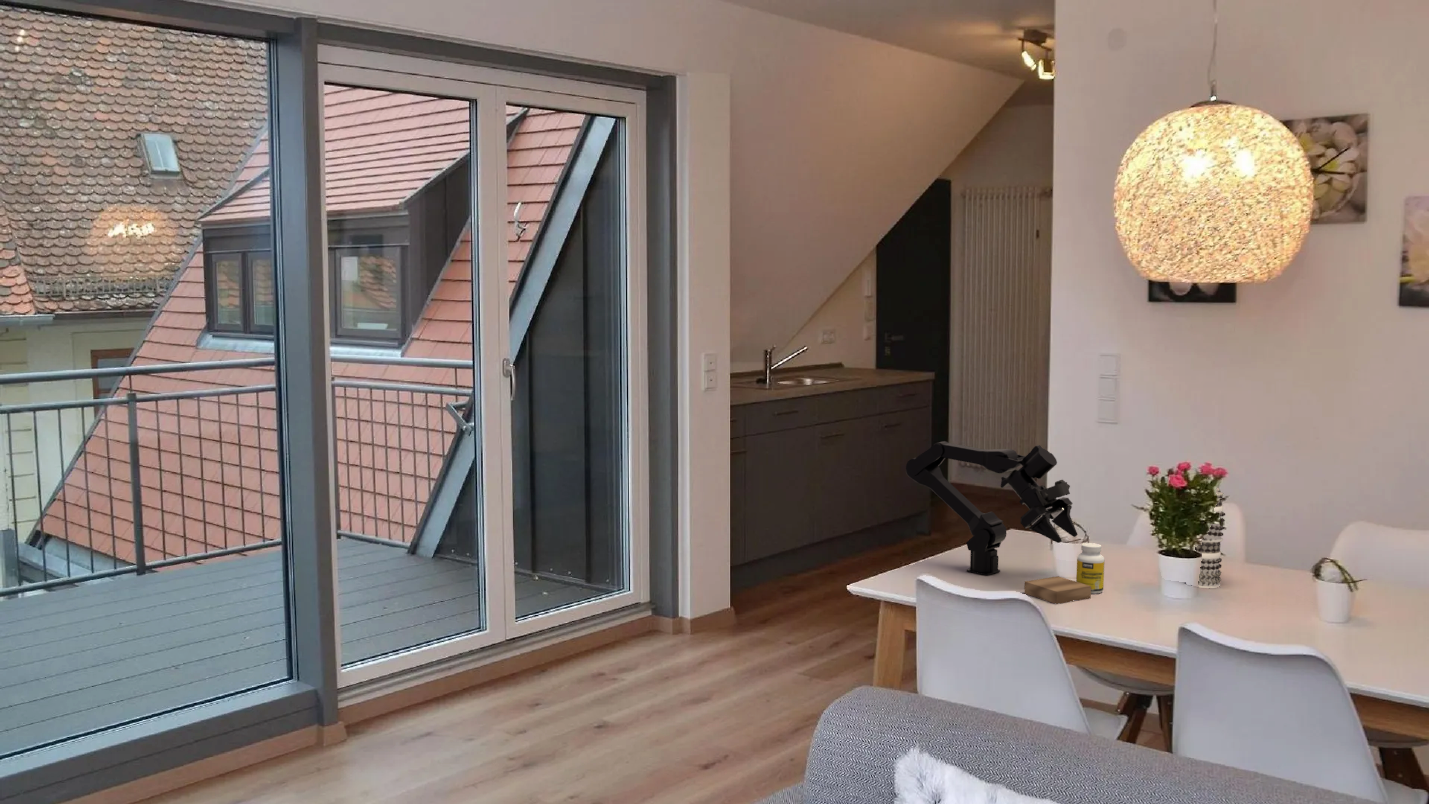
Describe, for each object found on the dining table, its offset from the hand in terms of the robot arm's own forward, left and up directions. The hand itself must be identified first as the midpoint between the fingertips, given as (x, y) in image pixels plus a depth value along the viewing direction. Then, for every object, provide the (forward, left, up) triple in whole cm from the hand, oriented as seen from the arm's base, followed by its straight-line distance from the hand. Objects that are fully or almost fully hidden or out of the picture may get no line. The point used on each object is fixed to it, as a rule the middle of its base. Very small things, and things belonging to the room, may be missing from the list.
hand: (1068, 538), depth 300 cm
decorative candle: (+22, +28, -12) cm, 37 cm away
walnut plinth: (+3, -9, -12) cm, 16 cm away
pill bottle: (+6, +1, -12) cm, 14 cm away
